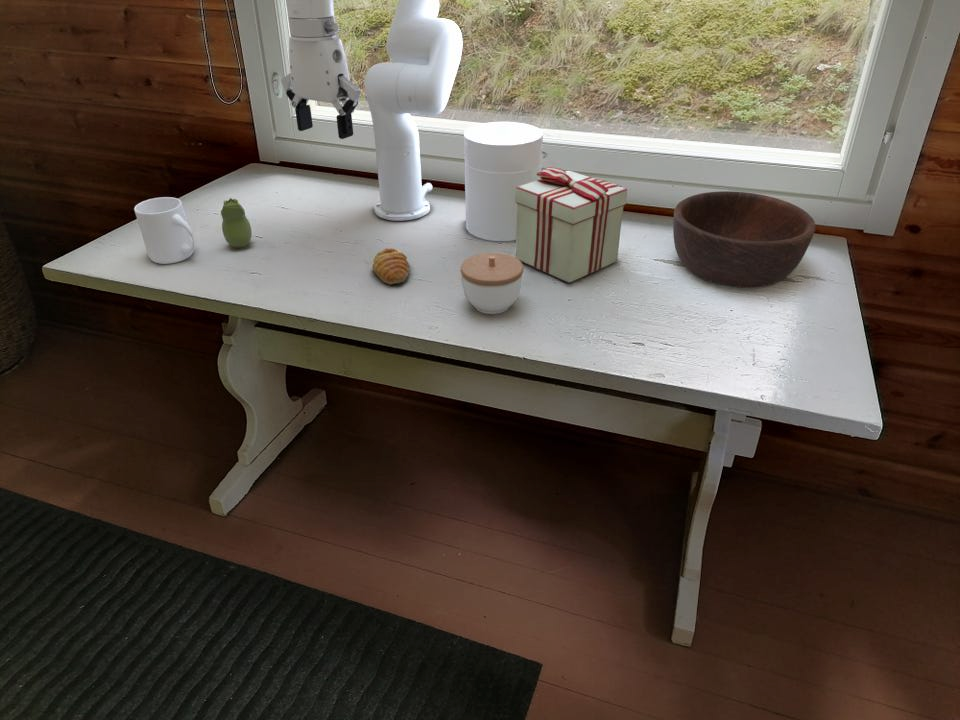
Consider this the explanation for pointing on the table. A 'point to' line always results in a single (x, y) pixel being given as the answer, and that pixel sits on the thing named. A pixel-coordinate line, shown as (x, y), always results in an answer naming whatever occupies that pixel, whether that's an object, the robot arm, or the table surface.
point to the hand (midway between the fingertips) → (325, 133)
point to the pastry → (391, 266)
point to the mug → (165, 230)
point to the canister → (498, 175)
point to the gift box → (568, 223)
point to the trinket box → (492, 281)
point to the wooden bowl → (740, 237)
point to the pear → (235, 224)
